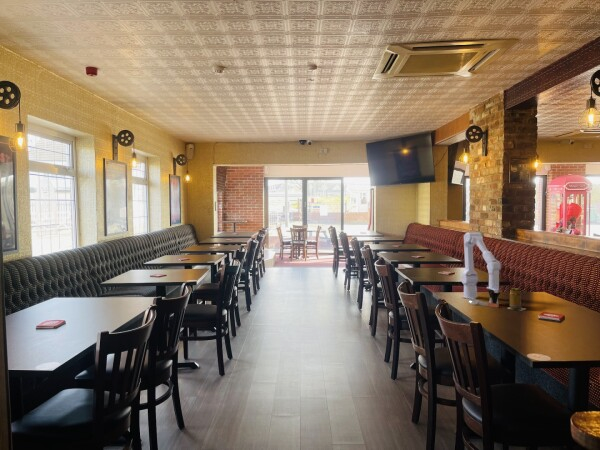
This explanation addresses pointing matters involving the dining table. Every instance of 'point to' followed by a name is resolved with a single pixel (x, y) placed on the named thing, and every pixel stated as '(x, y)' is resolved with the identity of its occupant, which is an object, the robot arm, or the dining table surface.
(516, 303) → the condiment
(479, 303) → the metal scoop
